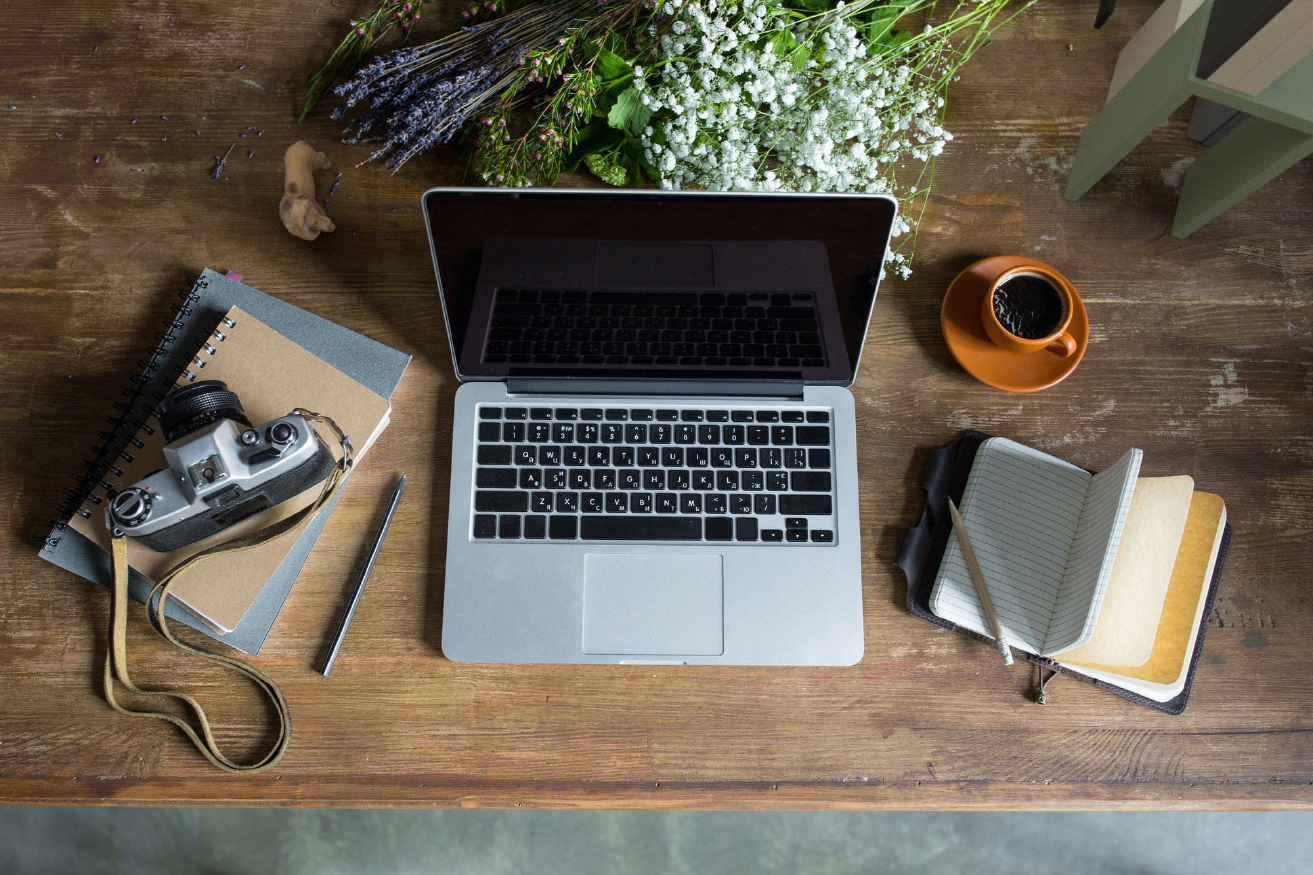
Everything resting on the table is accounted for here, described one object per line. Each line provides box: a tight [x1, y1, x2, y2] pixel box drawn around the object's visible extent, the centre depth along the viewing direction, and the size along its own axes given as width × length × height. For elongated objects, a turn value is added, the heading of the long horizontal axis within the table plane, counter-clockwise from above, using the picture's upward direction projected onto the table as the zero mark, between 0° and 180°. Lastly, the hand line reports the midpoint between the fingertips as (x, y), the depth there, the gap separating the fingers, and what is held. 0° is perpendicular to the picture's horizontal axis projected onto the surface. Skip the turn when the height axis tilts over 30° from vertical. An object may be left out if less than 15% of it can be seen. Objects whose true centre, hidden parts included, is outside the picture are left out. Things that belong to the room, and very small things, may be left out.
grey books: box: [1185, 95, 1252, 149], centre depth 93 cm, size 4×9×12 cm, turn 160°
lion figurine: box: [278, 140, 337, 242], centre depth 88 cm, size 15×5×9 cm, turn 16°
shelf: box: [1062, 0, 1313, 241], centre depth 86 cm, size 15×10×22 cm, turn 70°
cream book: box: [1103, 0, 1205, 108], centre depth 93 cm, size 2×9×13 cm, turn 160°
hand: (1158, 39), depth 93 cm, fingers open, 13 cm apart
